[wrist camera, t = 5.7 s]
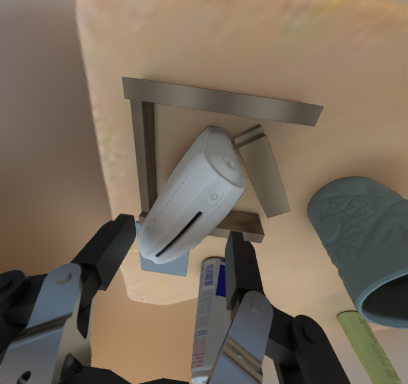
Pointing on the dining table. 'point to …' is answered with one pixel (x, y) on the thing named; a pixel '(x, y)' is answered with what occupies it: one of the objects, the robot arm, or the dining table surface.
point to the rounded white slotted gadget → (193, 198)
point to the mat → (170, 267)
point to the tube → (368, 349)
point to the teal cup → (366, 245)
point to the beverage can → (209, 319)
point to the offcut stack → (262, 170)
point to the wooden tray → (210, 101)
